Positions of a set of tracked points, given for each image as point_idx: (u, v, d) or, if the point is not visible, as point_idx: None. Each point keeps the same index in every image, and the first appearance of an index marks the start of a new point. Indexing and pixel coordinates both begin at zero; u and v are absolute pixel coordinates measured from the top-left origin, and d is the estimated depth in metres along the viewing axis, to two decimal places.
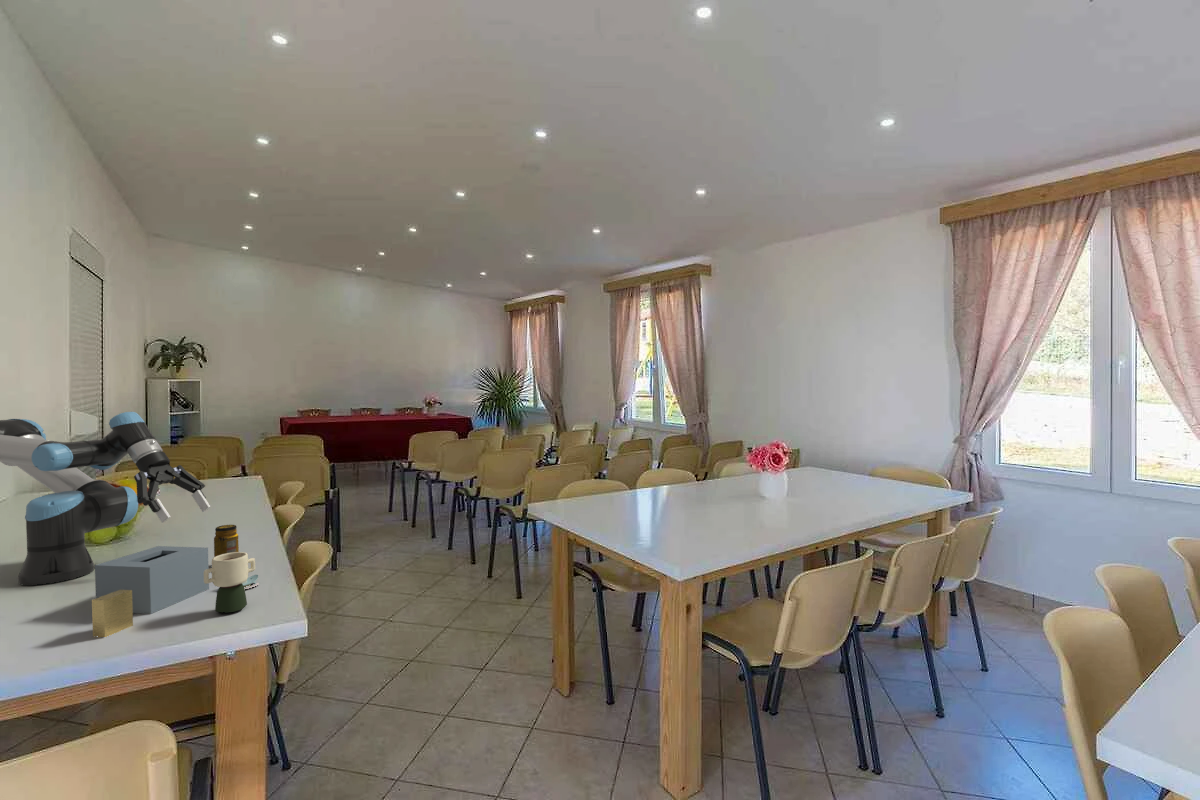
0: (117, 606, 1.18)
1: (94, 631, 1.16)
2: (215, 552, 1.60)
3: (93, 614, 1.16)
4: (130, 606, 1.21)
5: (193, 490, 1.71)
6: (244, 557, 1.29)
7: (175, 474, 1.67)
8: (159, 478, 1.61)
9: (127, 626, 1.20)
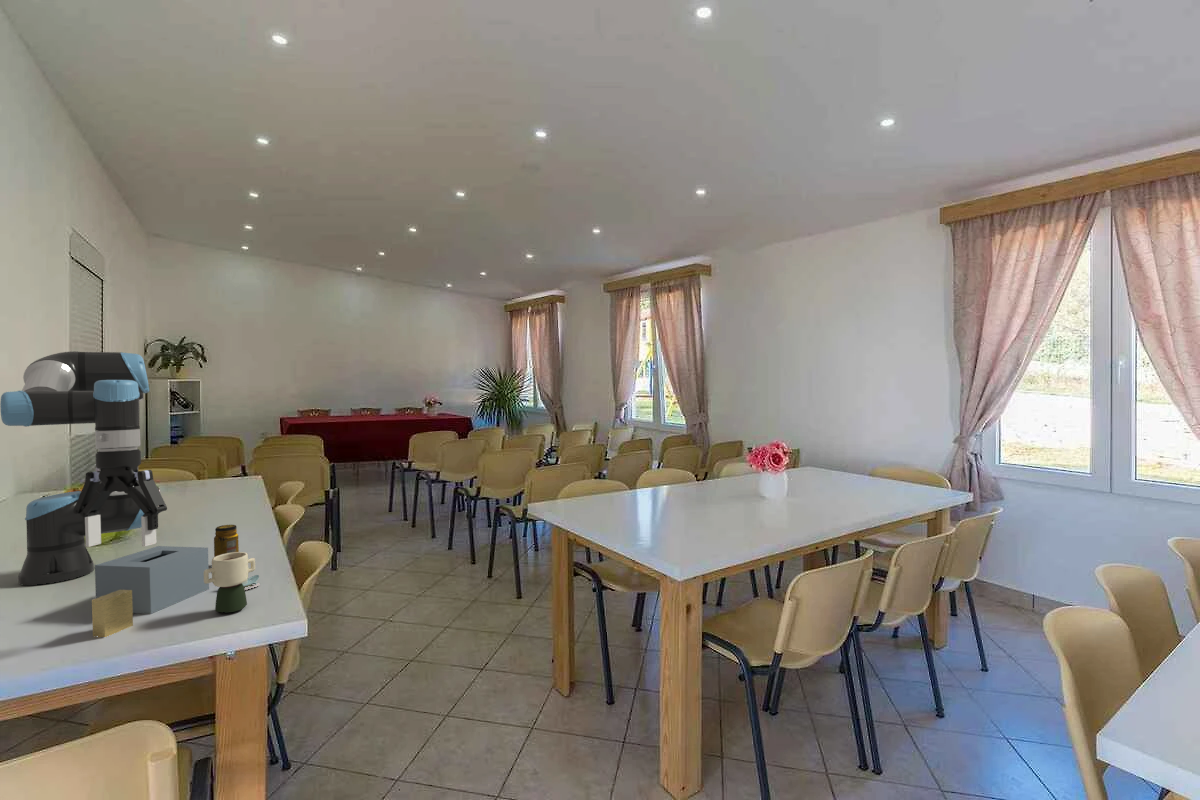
0: (117, 606, 1.18)
1: (94, 631, 1.16)
2: (215, 552, 1.60)
3: (93, 614, 1.16)
4: (130, 606, 1.21)
5: None
6: (244, 557, 1.29)
7: (122, 487, 1.18)
8: (100, 489, 1.19)
9: (127, 626, 1.20)
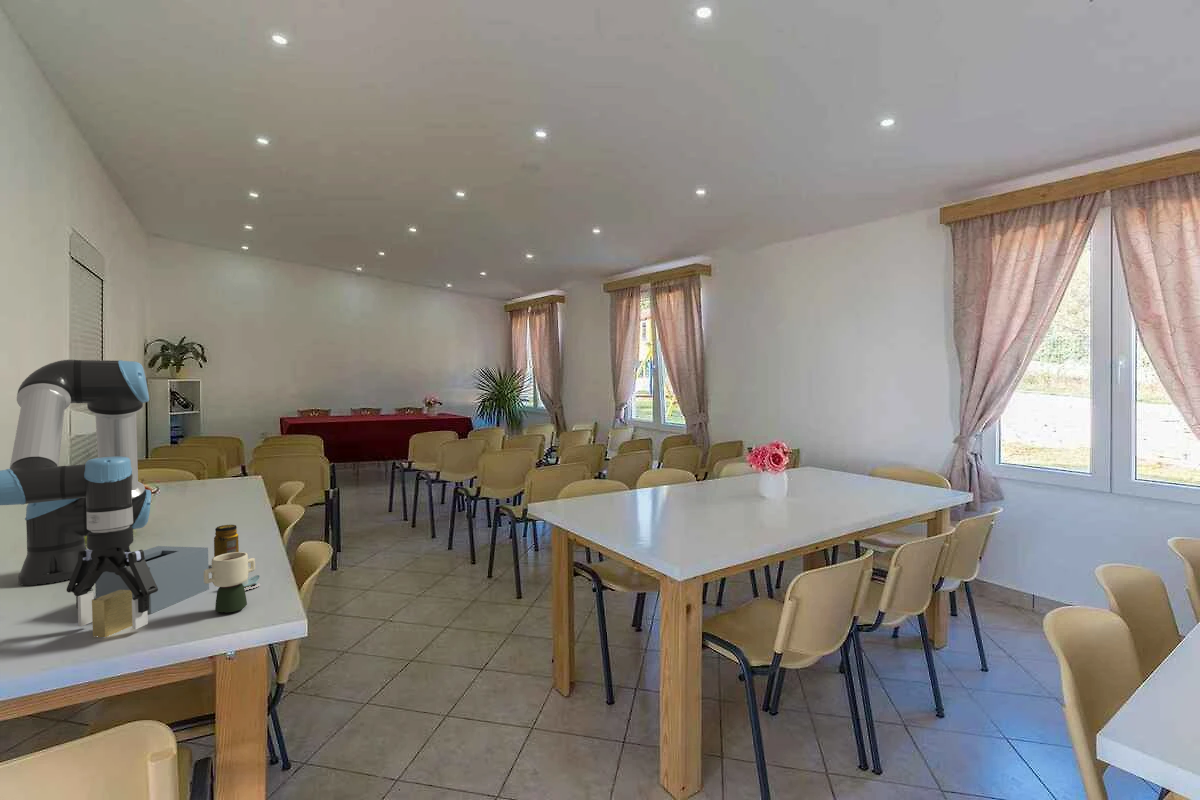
0: (117, 606, 1.18)
1: (94, 631, 1.16)
2: (215, 552, 1.60)
3: (93, 614, 1.16)
4: (130, 606, 1.21)
5: None
6: (244, 557, 1.29)
7: (113, 568, 1.16)
8: (91, 569, 1.17)
9: (127, 626, 1.20)
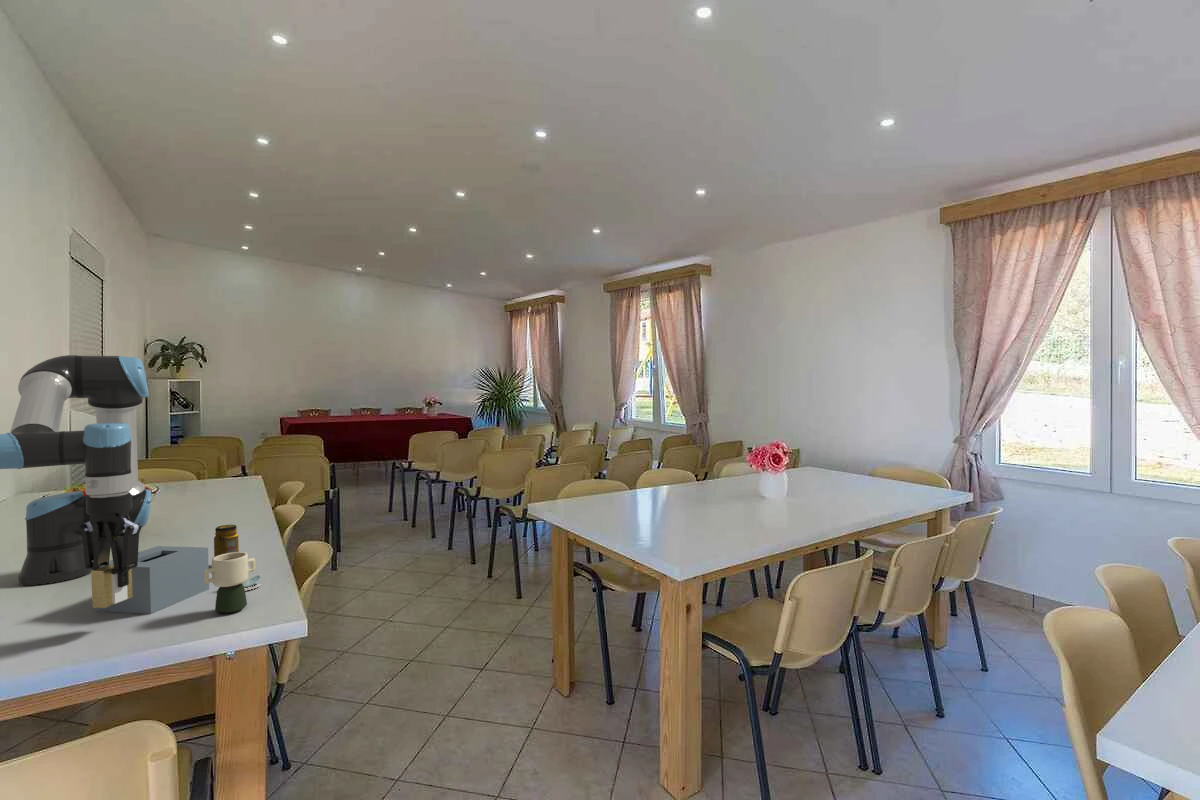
0: None
1: (94, 601, 1.16)
2: (215, 552, 1.60)
3: (93, 584, 1.16)
4: (129, 578, 1.21)
5: None
6: (244, 557, 1.29)
7: (108, 535, 1.16)
8: (96, 537, 1.17)
9: None
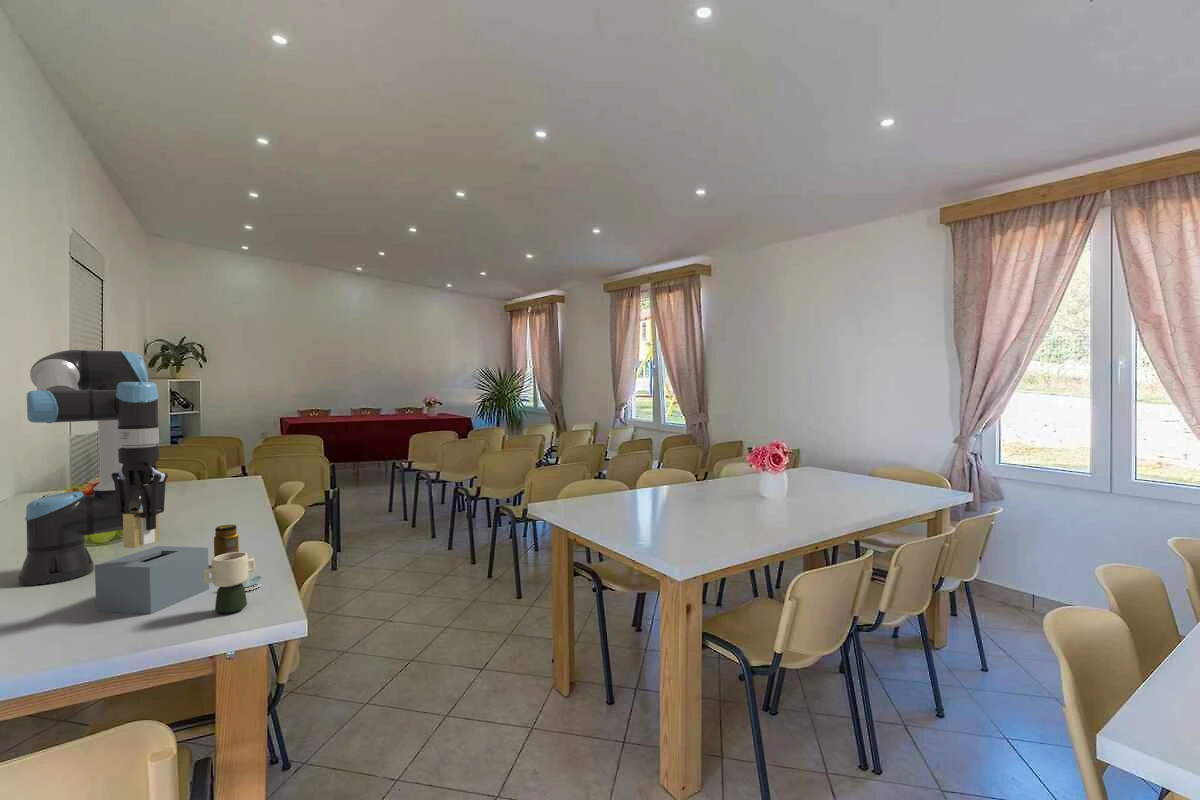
0: None
1: (125, 542, 1.28)
2: (215, 552, 1.60)
3: (124, 527, 1.28)
4: (156, 523, 1.33)
5: None
6: (244, 557, 1.29)
7: (138, 482, 1.29)
8: (127, 484, 1.29)
9: None
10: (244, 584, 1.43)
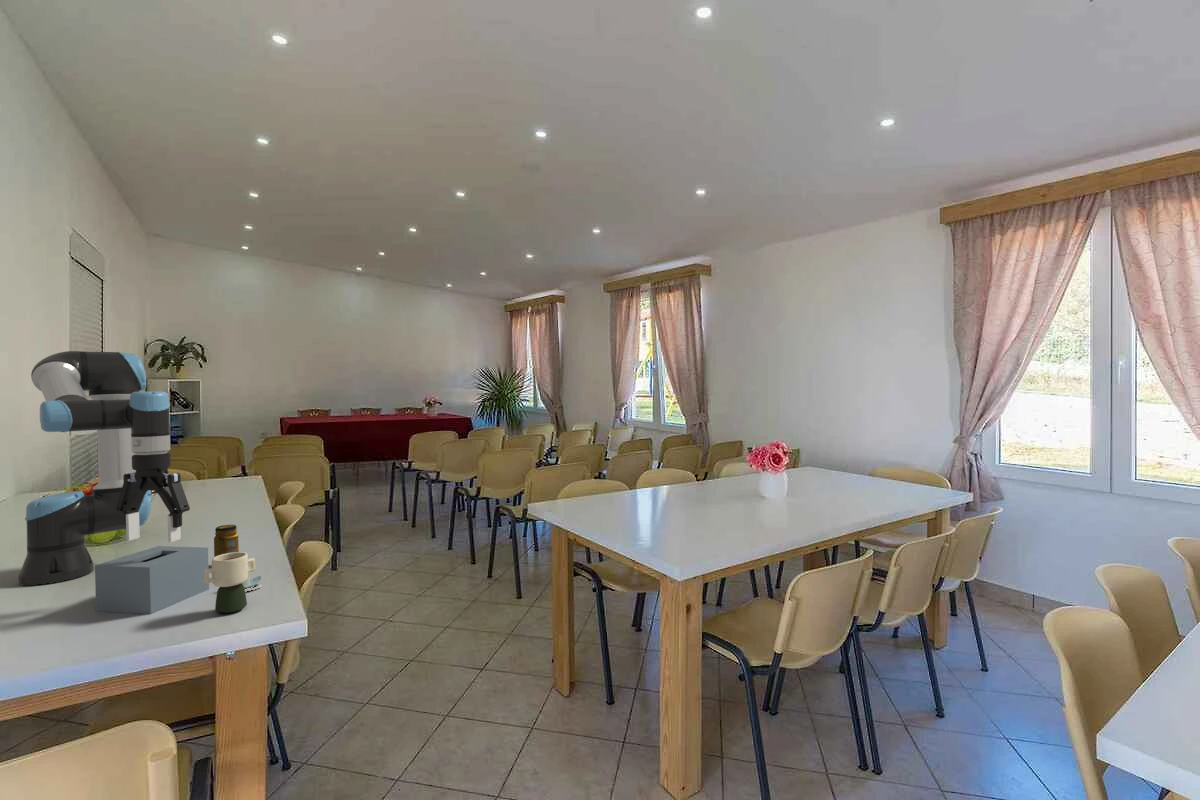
0: None
1: None
2: (215, 552, 1.60)
3: None
4: None
5: None
6: (244, 557, 1.29)
7: (154, 487, 1.34)
8: (136, 488, 1.35)
9: None
10: (245, 584, 1.43)
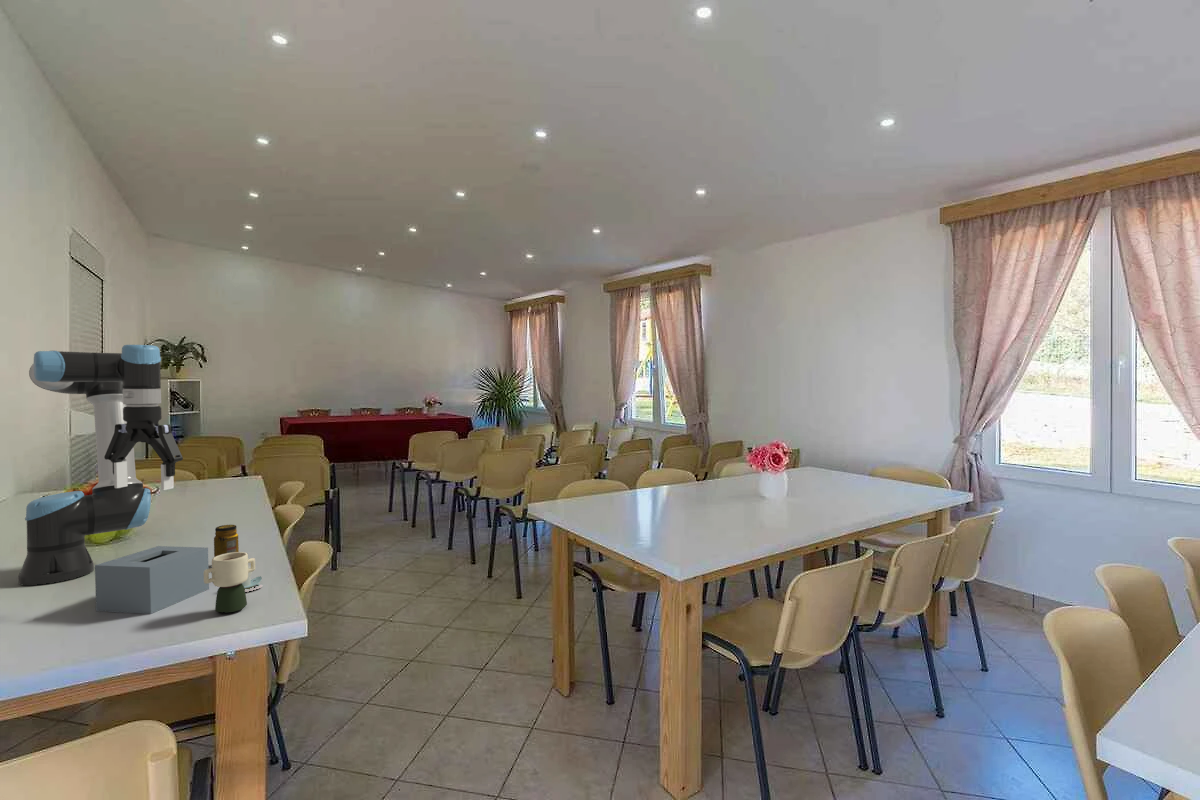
0: None
1: None
2: (215, 552, 1.60)
3: None
4: None
5: None
6: (244, 557, 1.29)
7: (145, 438, 1.37)
8: (126, 439, 1.37)
9: None
10: (245, 585, 1.43)
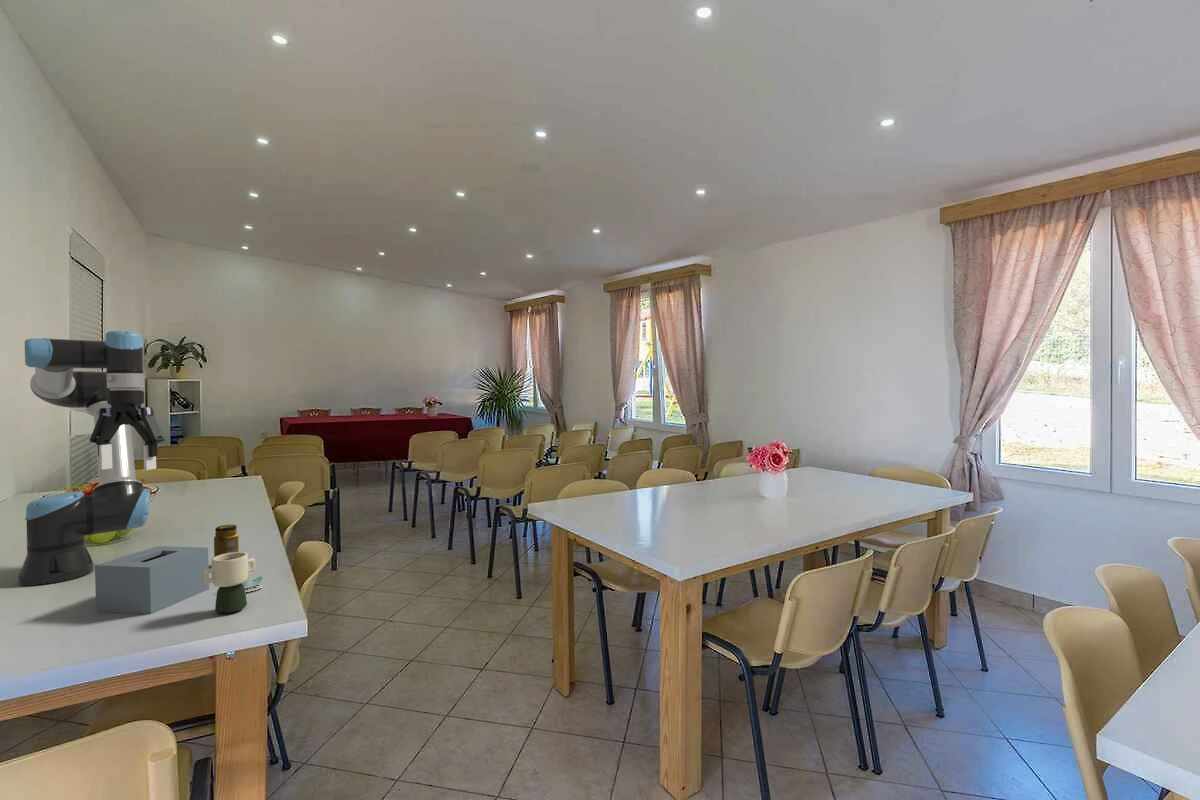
0: None
1: None
2: (215, 552, 1.60)
3: None
4: None
5: None
6: (244, 557, 1.29)
7: (128, 420, 1.43)
8: (110, 422, 1.43)
9: None
10: (246, 585, 1.42)
